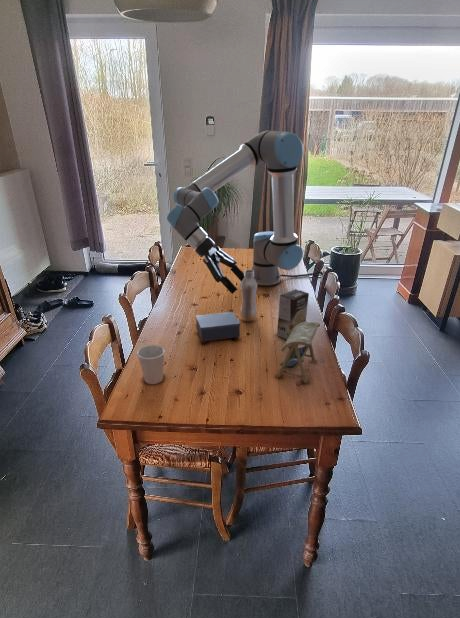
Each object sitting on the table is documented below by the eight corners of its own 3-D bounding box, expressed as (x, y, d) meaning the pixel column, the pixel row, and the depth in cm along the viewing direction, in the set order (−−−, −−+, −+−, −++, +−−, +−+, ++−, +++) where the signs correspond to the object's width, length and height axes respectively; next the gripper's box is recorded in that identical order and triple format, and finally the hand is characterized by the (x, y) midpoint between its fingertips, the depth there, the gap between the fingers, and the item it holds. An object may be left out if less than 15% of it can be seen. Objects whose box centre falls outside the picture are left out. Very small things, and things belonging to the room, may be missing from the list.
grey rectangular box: (233, 328, 167) (233, 311, 163) (240, 340, 158) (240, 323, 154) (196, 332, 164) (195, 315, 160) (201, 345, 155) (200, 327, 151)
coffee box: (289, 341, 158) (293, 300, 149) (276, 335, 162) (279, 295, 153) (305, 333, 163) (309, 293, 155) (291, 327, 167) (295, 288, 159)
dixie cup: (144, 388, 132) (140, 360, 126) (137, 375, 138) (133, 347, 133) (170, 382, 135) (168, 355, 129) (162, 369, 141) (160, 342, 136)
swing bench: (288, 356, 149) (292, 317, 141) (316, 361, 146) (321, 321, 138) (276, 378, 137) (279, 336, 129) (306, 384, 134) (311, 342, 126)
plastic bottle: (255, 323, 170) (256, 274, 159) (238, 322, 171) (238, 273, 160) (257, 317, 175) (259, 269, 165) (241, 315, 176) (242, 268, 166)
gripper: (205, 240, 174) (241, 280, 179) (183, 259, 154) (223, 303, 158) (217, 228, 170) (253, 268, 175) (196, 245, 150) (237, 291, 154)
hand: (239, 285), depth 166 cm, fingers open, 13 cm apart
